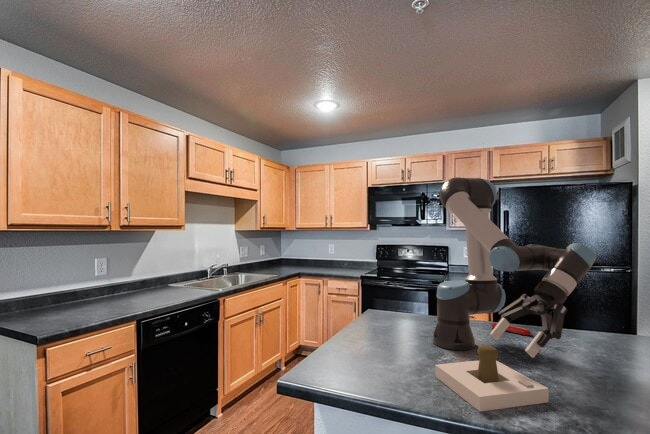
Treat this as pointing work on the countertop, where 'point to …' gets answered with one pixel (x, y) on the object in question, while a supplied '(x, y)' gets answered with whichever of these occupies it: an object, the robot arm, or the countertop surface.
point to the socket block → (491, 386)
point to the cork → (487, 364)
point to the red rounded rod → (515, 329)
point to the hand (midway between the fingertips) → (509, 345)
